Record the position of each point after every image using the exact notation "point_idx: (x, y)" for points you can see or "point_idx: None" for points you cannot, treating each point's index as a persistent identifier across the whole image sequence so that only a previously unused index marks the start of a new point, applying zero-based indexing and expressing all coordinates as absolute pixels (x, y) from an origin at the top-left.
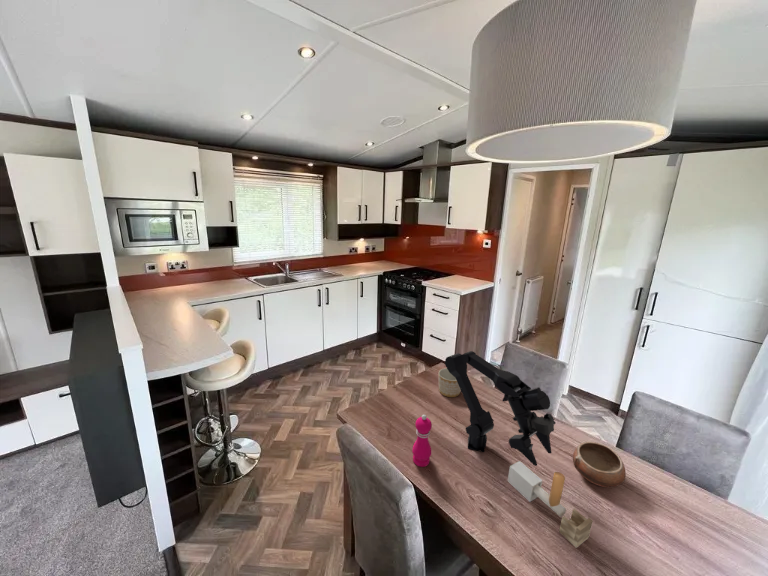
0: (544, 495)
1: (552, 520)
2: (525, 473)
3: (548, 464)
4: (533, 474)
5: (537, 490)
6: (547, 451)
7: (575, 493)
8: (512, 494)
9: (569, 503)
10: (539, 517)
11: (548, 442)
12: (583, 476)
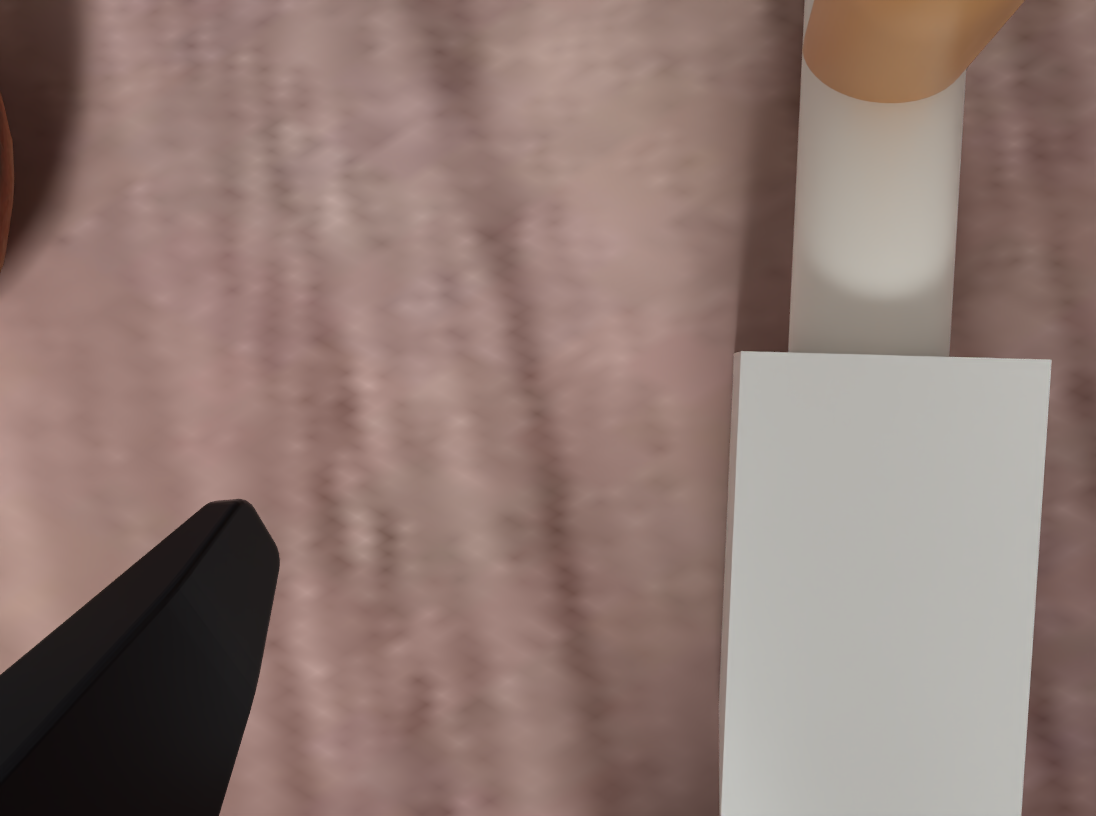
0: (939, 173)
1: None
2: (895, 610)
3: None
4: (773, 516)
5: (942, 302)
6: (267, 599)
7: (293, 157)
8: (1060, 555)
9: (490, 103)
10: (1043, 151)
11: (1, 769)
12: (11, 195)
